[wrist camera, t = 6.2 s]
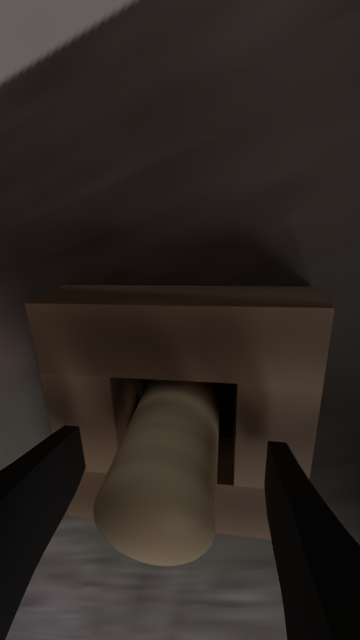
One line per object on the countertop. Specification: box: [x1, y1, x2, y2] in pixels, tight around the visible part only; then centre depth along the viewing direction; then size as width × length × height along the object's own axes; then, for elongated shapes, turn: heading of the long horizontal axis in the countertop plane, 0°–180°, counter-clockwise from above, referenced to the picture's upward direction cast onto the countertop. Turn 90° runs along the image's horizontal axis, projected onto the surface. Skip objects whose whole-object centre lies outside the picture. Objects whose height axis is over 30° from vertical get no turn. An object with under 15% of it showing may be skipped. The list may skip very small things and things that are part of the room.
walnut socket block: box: [25, 285, 335, 540], centre depth 14 cm, size 11×11×3 cm
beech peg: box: [93, 379, 220, 566], centre depth 12 cm, size 4×4×7 cm
